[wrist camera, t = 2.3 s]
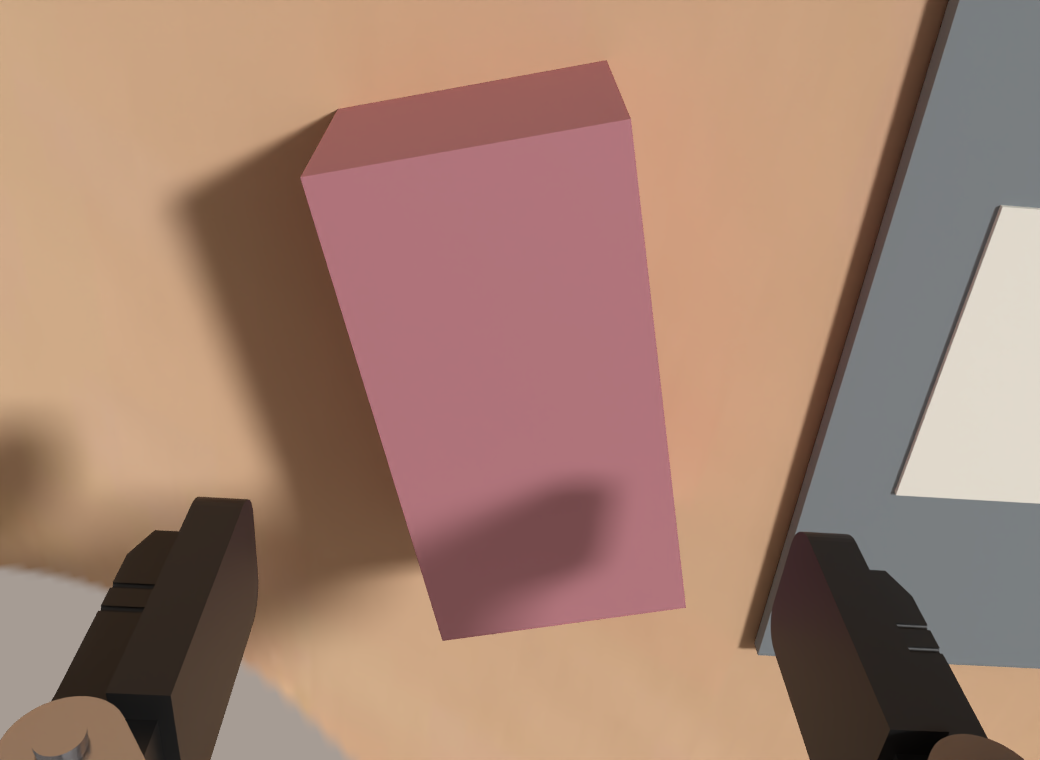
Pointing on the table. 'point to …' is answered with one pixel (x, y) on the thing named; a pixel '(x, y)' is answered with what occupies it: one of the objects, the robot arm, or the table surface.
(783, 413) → the table surface
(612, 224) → the card box
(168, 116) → the table surface
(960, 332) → the mat
